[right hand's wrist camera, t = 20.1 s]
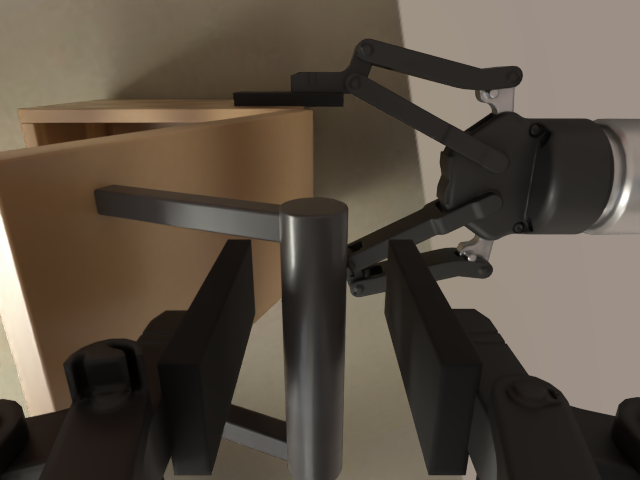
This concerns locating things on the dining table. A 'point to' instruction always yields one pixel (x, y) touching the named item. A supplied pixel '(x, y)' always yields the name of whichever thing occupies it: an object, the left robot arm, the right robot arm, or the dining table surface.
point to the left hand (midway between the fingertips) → (242, 177)
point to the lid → (179, 260)
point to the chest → (125, 117)
